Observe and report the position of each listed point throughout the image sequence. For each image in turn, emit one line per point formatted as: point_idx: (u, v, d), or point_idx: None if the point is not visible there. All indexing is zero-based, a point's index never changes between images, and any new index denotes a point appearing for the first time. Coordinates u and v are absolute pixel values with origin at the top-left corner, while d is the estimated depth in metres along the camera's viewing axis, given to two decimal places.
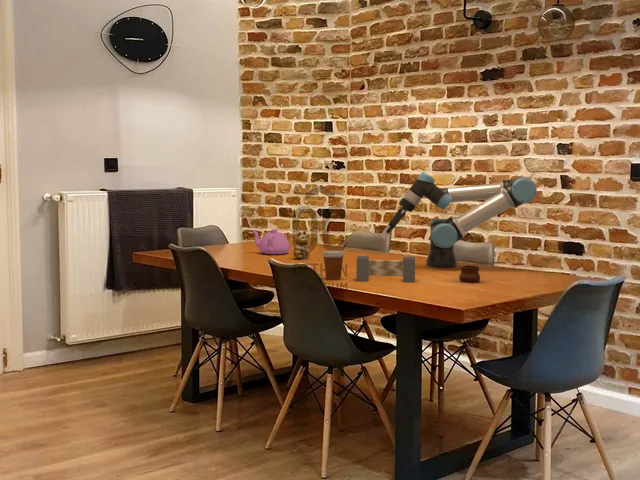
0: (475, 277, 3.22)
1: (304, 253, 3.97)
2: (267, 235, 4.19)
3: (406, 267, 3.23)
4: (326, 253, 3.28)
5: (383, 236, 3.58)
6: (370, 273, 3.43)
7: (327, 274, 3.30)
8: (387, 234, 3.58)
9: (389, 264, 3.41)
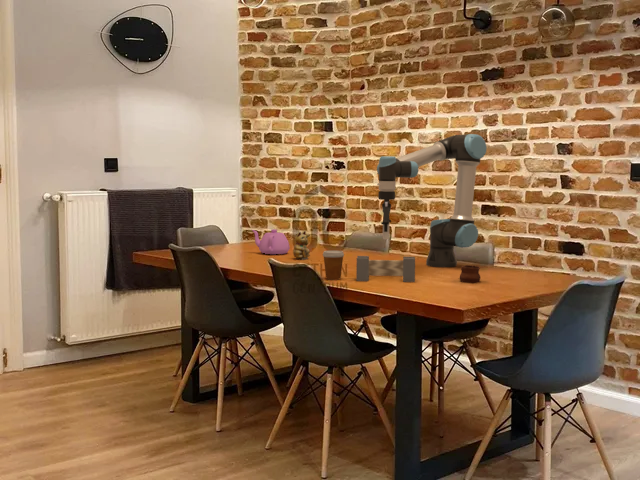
0: (475, 278, 3.21)
1: (304, 253, 3.97)
2: (267, 235, 4.19)
3: (406, 267, 3.23)
4: (326, 253, 3.28)
5: (384, 237, 3.35)
6: (370, 273, 3.43)
7: (327, 274, 3.30)
8: (387, 233, 3.34)
9: (389, 264, 3.41)
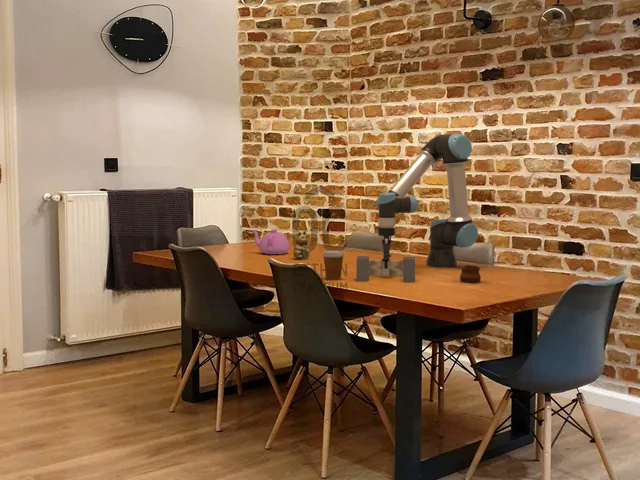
0: (476, 278, 3.21)
1: (304, 253, 3.97)
2: (267, 235, 4.19)
3: (406, 267, 3.23)
4: (326, 253, 3.28)
5: (385, 274, 3.36)
6: (370, 273, 3.43)
7: (327, 274, 3.30)
8: (387, 270, 3.36)
9: (389, 264, 3.41)
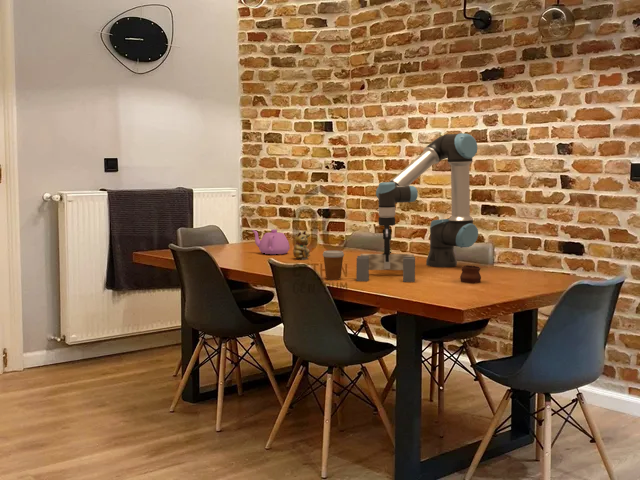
0: (476, 278, 3.21)
1: (304, 253, 3.97)
2: (267, 235, 4.19)
3: (406, 267, 3.23)
4: (326, 253, 3.28)
5: (386, 267, 3.41)
6: (371, 267, 3.43)
7: (327, 274, 3.30)
8: (388, 263, 3.41)
9: (390, 258, 3.41)
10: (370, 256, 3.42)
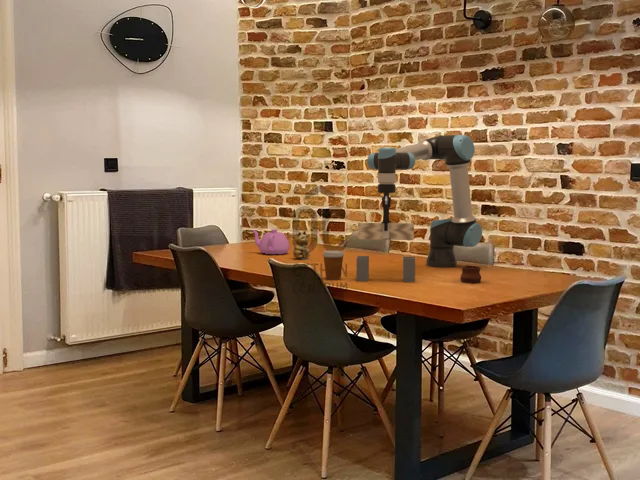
0: (476, 278, 3.21)
1: (304, 253, 3.97)
2: (267, 235, 4.19)
3: (406, 267, 3.23)
4: (326, 253, 3.28)
5: (385, 236, 3.25)
6: (369, 236, 3.26)
7: (327, 274, 3.30)
8: (387, 232, 3.24)
9: (389, 227, 3.25)
10: (368, 225, 3.26)
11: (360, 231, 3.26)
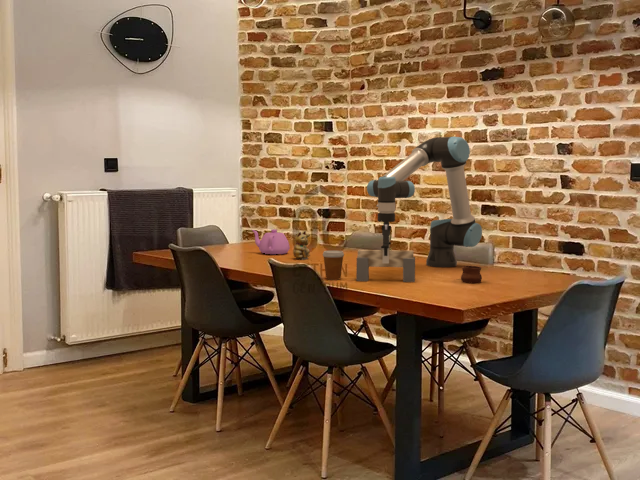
0: (477, 278, 3.20)
1: (304, 253, 3.97)
2: (267, 235, 4.19)
3: (406, 267, 3.23)
4: (326, 253, 3.28)
5: (384, 261, 3.20)
6: (368, 264, 3.27)
7: (327, 274, 3.30)
8: (387, 257, 3.20)
9: None
10: (368, 252, 3.27)
11: None
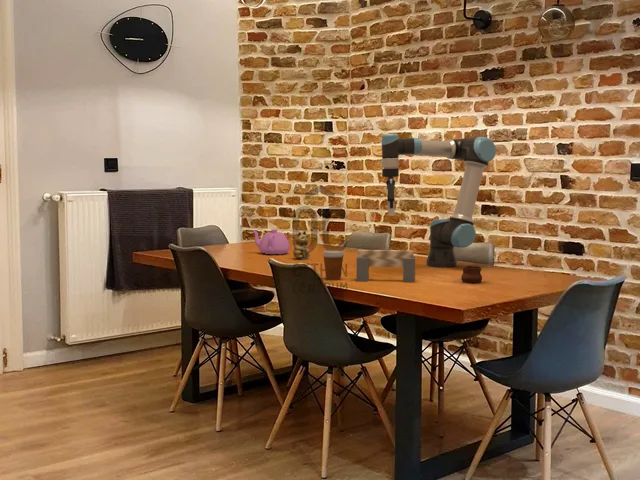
0: (477, 278, 3.20)
1: (304, 253, 3.97)
2: (267, 235, 4.19)
3: (406, 267, 3.23)
4: (326, 253, 3.28)
5: (390, 214, 3.40)
6: (368, 264, 3.27)
7: (327, 274, 3.30)
8: (392, 209, 3.39)
9: (388, 254, 3.26)
10: (368, 252, 3.27)
11: None
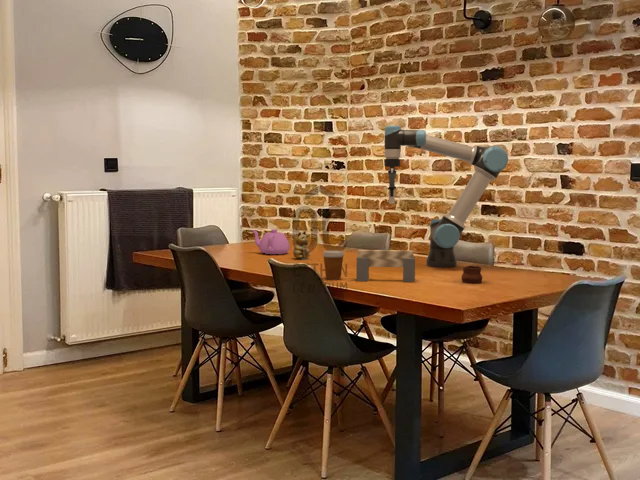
0: (476, 278, 3.20)
1: (304, 253, 3.97)
2: (267, 235, 4.19)
3: (406, 267, 3.23)
4: (326, 253, 3.28)
5: (391, 202, 3.54)
6: (368, 264, 3.27)
7: (327, 274, 3.30)
8: (393, 198, 3.54)
9: (388, 254, 3.26)
10: (368, 252, 3.27)
11: None
